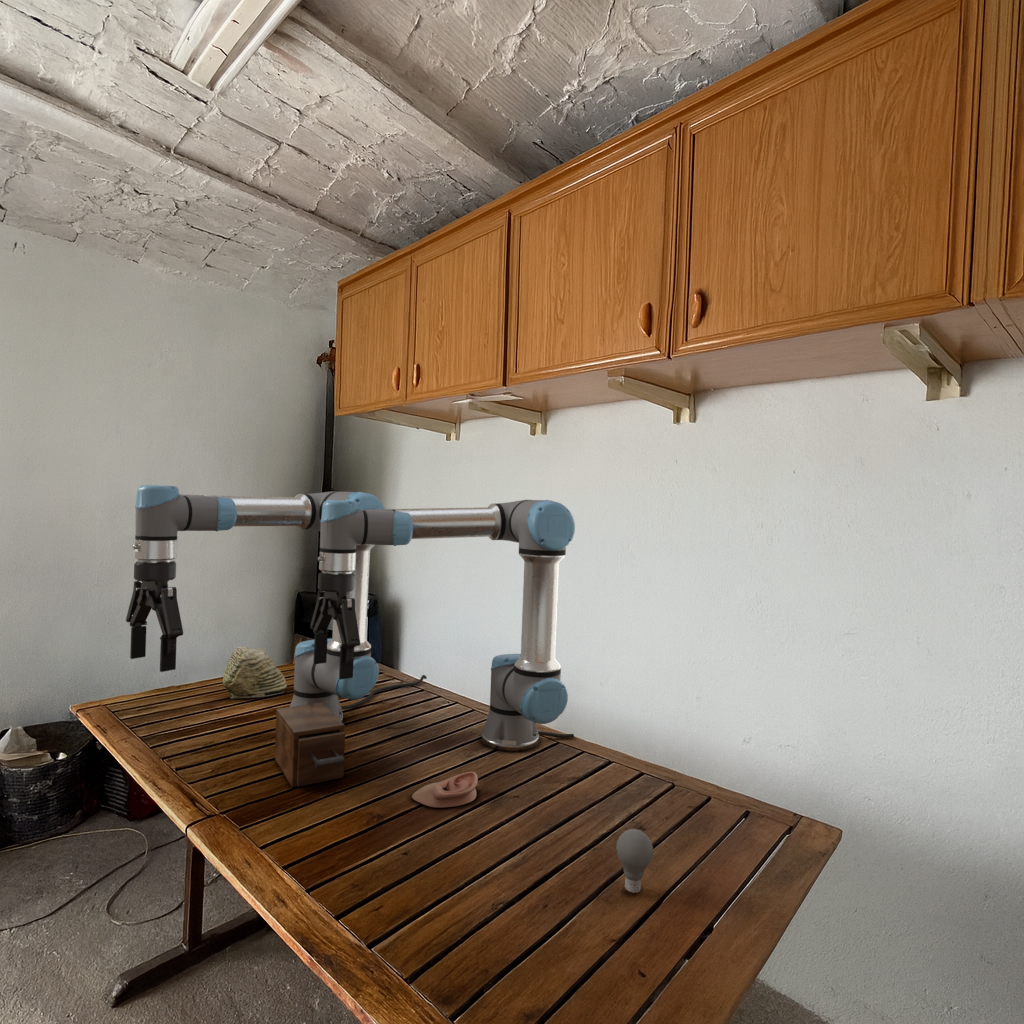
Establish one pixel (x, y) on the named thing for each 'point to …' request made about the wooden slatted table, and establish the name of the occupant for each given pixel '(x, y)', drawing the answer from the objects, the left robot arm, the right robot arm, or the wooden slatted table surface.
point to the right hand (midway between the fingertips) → (332, 670)
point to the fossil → (252, 674)
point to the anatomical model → (449, 791)
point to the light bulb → (634, 857)
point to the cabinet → (300, 732)
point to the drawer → (320, 757)
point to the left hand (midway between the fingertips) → (152, 664)
